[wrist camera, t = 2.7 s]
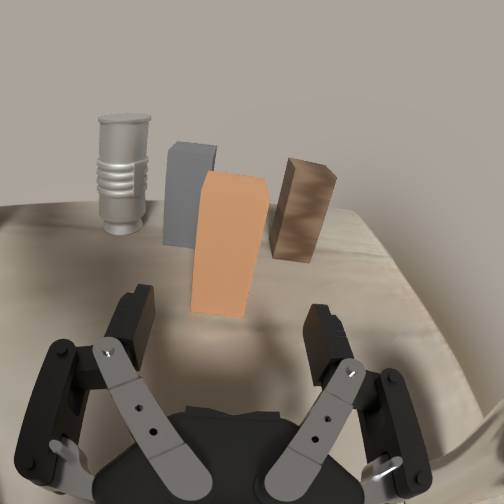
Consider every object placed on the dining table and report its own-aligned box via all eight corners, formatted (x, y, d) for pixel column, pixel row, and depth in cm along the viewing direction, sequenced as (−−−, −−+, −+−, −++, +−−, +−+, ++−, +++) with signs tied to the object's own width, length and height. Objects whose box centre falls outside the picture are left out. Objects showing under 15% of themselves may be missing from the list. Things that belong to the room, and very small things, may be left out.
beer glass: (456, 524, 9) (615, 423, 1) (391, 528, 10) (583, 429, 2) (461, 458, 14) (586, 342, 6) (403, 453, 16) (543, 320, 8)
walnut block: (272, 258, 37) (295, 168, 30) (269, 238, 41) (288, 157, 35) (309, 263, 37) (337, 177, 31) (302, 243, 42) (325, 165, 35)
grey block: (163, 244, 35) (168, 149, 29) (171, 225, 39) (177, 141, 33) (202, 249, 35) (213, 154, 29) (205, 230, 40) (217, 145, 33)
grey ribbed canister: (120, 243, 33) (120, 121, 25) (90, 225, 35) (87, 117, 27) (156, 224, 39) (163, 116, 31) (125, 209, 41) (128, 112, 33)
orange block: (190, 311, 26) (201, 190, 20) (196, 279, 30) (208, 170, 24) (243, 318, 27) (270, 200, 21) (242, 285, 31) (264, 178, 25)
